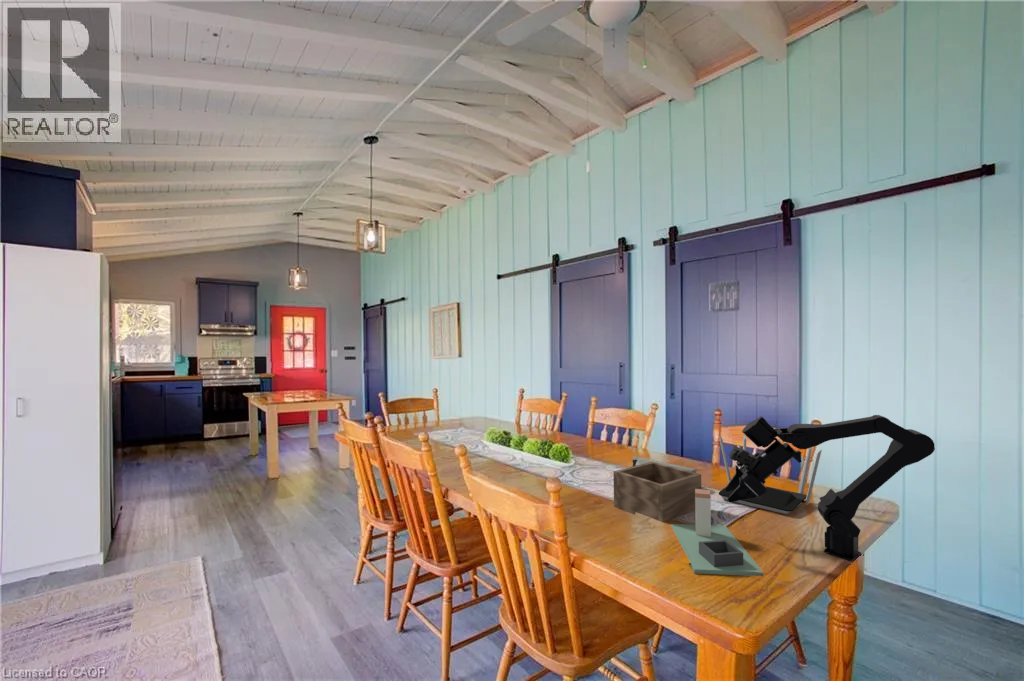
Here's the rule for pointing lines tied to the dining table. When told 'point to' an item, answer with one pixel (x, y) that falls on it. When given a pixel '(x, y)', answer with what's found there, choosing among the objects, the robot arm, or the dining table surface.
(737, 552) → the dark grey tray
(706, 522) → the plug
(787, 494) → the wireless router
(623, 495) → the open wooden crate
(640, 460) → the decorative block
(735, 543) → the board
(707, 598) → the dining table surface
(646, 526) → the dining table surface
